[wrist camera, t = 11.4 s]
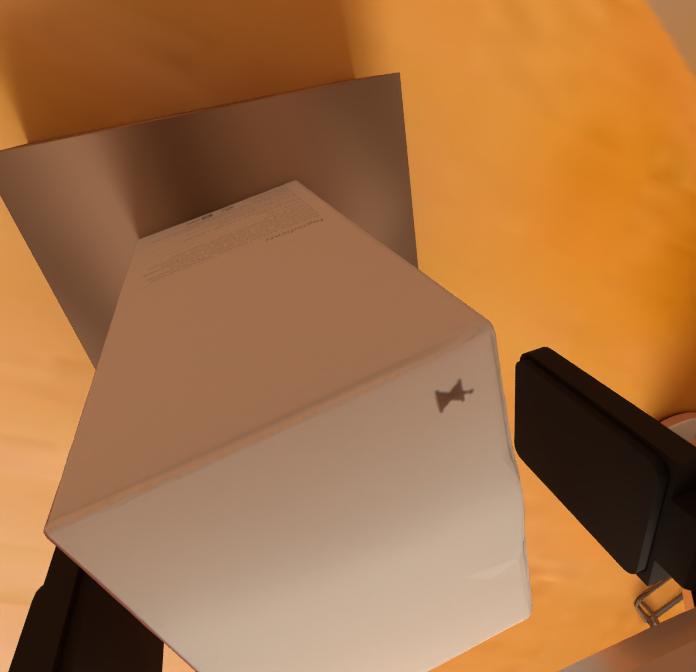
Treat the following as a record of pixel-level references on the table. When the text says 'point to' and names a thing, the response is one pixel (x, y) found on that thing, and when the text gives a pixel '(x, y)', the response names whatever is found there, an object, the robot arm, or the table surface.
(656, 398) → the table surface
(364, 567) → the small box
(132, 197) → the walnut plinth
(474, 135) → the table surface
